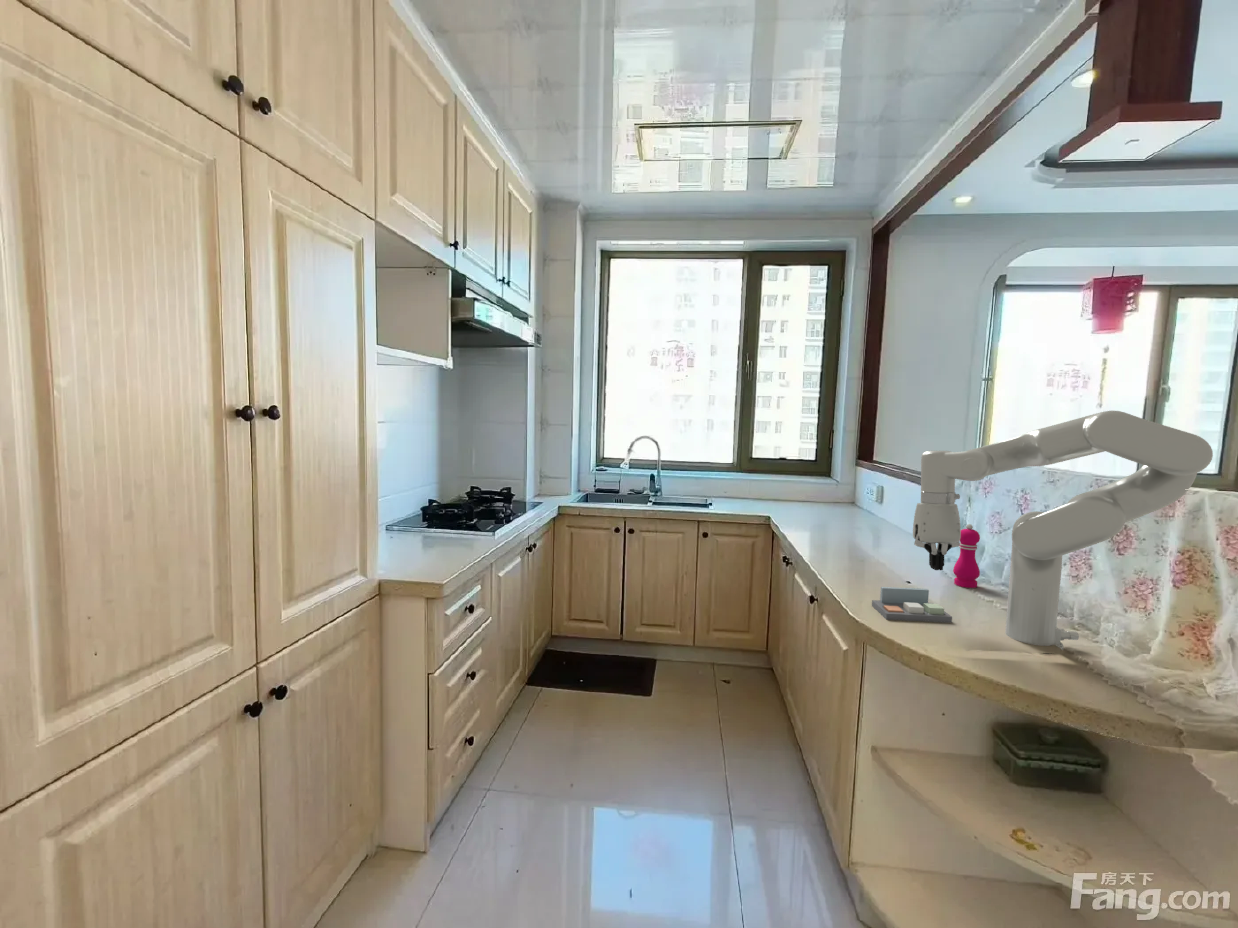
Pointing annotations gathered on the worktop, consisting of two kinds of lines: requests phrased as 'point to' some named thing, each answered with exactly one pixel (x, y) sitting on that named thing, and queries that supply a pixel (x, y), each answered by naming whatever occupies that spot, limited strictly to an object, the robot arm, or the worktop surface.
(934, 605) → the sage key
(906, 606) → the white key
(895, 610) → the terracotta key
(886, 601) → the keypad
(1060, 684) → the worktop surface
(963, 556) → the pepper mill
